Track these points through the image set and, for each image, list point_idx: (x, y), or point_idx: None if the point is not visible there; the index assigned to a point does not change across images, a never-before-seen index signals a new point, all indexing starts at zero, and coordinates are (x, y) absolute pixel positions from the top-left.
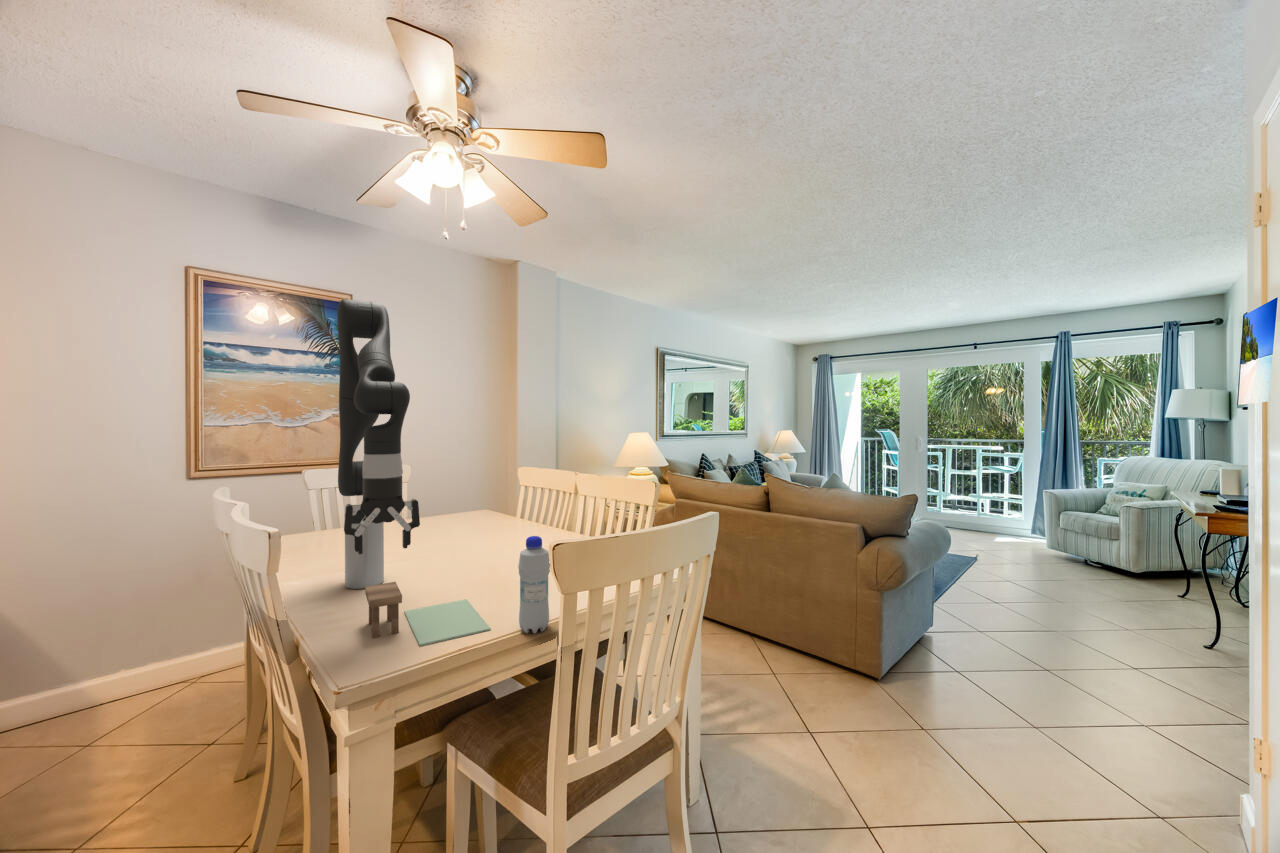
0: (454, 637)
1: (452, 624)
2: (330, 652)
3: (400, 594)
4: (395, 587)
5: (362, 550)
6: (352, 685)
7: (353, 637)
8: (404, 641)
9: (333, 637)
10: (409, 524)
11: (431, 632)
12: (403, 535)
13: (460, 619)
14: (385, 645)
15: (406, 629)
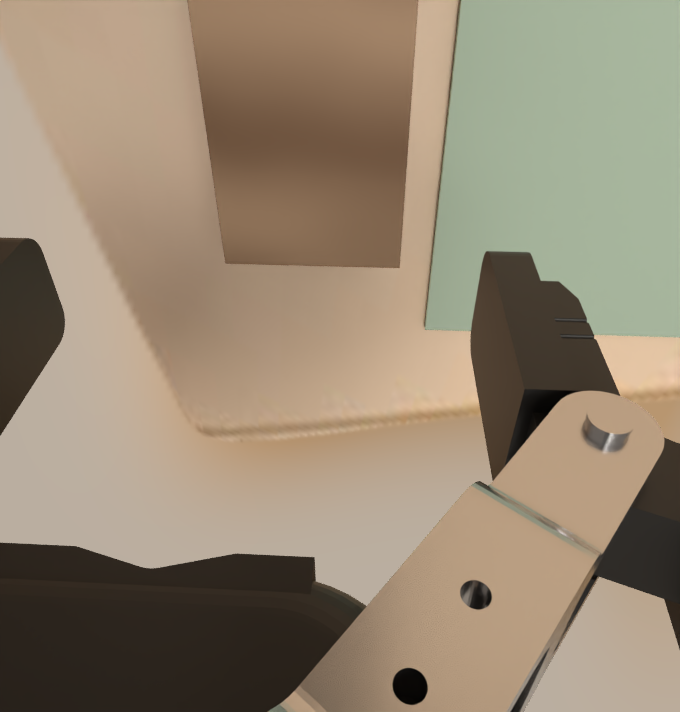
0: None
1: (607, 223)
2: (120, 204)
3: (393, 254)
4: (393, 87)
5: (51, 355)
6: (222, 433)
7: (190, 93)
8: None
9: (94, 34)
10: (613, 573)
11: None
12: (494, 420)
13: (667, 188)
14: None
15: (422, 136)
